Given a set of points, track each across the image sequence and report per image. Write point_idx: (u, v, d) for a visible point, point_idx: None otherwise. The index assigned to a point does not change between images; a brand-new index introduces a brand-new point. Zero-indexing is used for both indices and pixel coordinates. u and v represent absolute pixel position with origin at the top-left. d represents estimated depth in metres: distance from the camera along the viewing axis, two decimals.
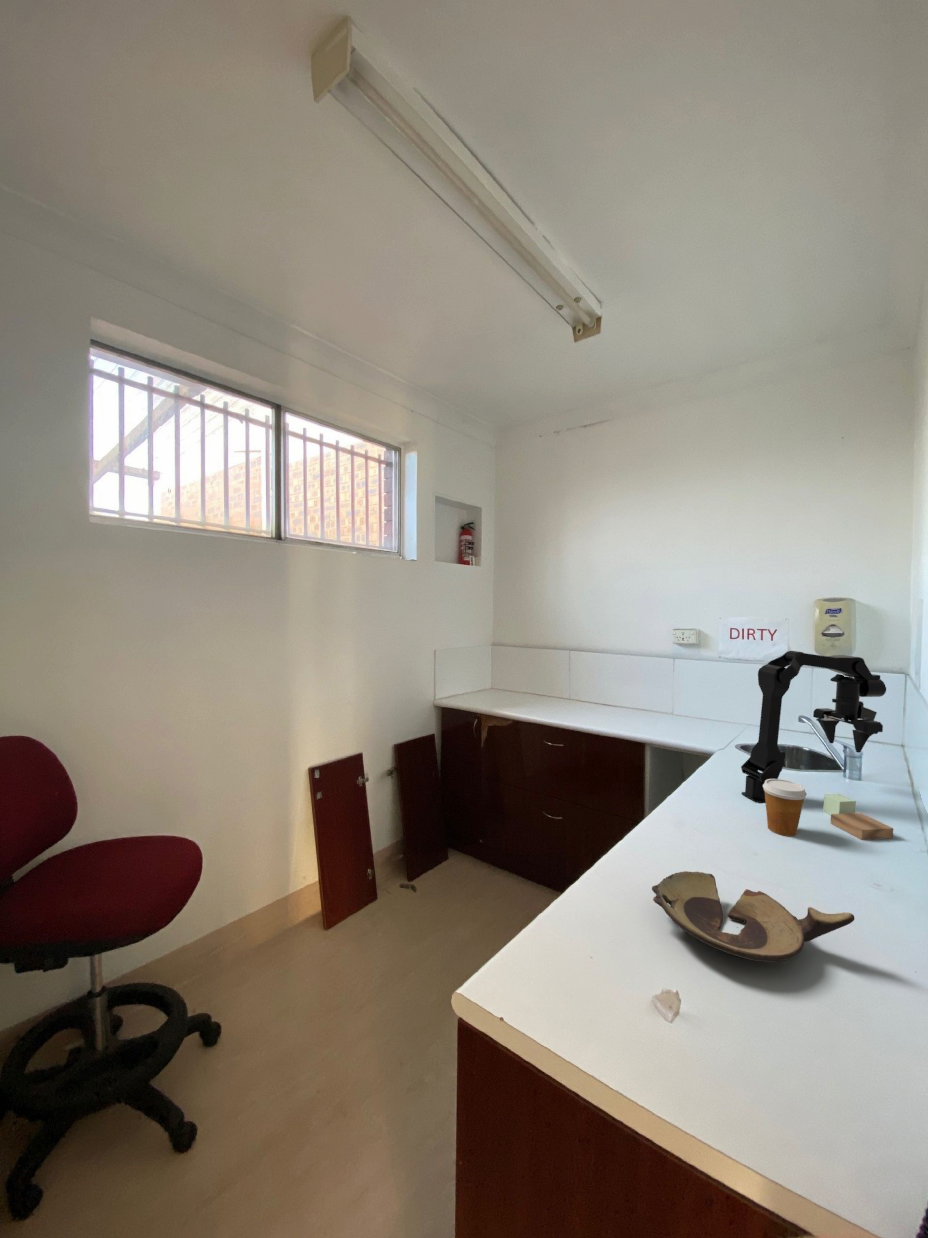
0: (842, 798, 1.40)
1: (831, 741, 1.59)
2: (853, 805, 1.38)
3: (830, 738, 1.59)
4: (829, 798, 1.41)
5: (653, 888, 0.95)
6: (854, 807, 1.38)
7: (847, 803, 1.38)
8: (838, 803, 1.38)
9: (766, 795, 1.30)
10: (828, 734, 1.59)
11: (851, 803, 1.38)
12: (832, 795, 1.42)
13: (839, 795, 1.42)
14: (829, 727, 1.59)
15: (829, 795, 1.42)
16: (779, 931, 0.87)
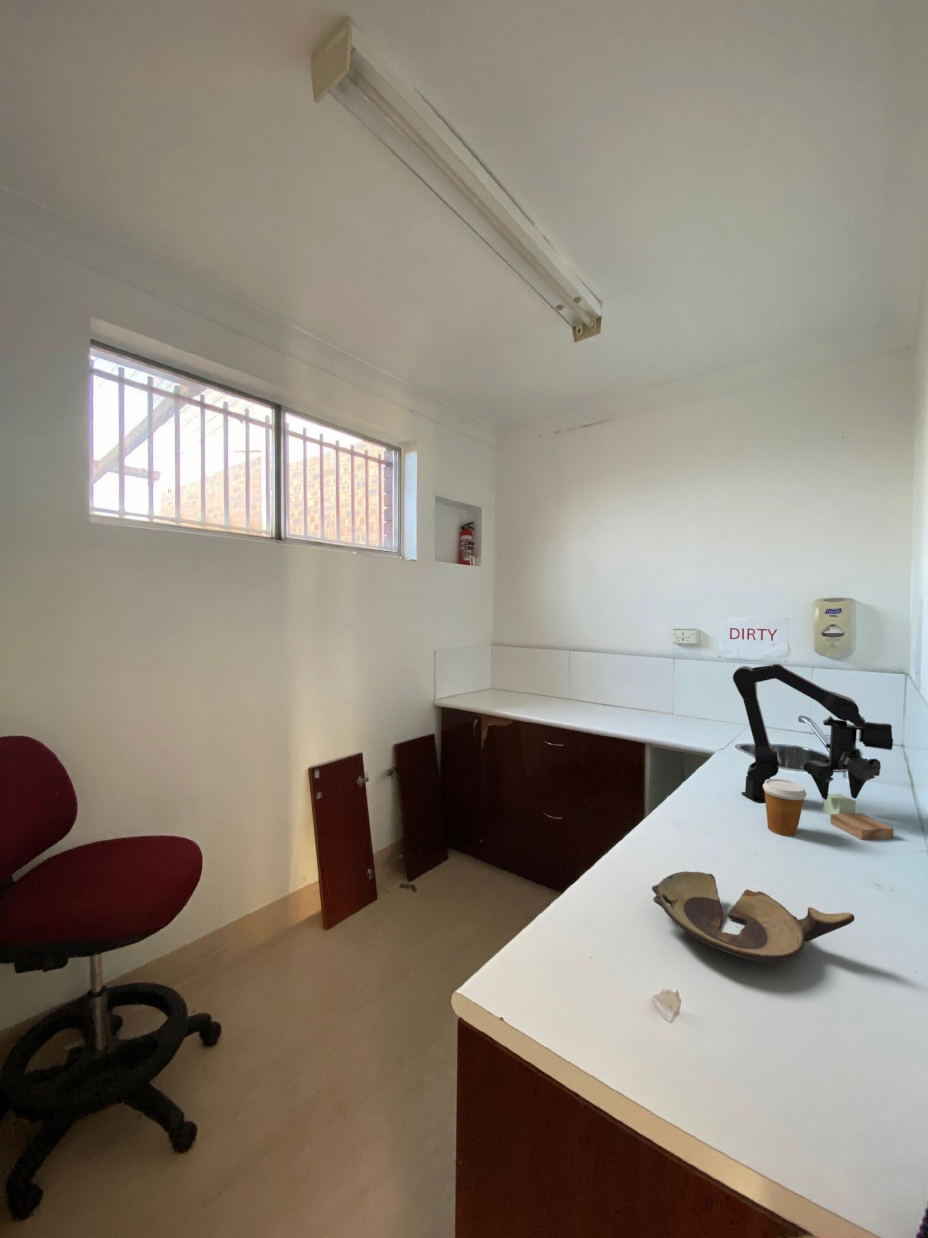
0: (842, 798, 1.40)
1: (852, 795, 1.41)
2: (853, 805, 1.38)
3: (851, 791, 1.42)
4: (829, 798, 1.41)
5: (653, 888, 0.95)
6: (854, 807, 1.38)
7: (847, 803, 1.38)
8: (838, 803, 1.38)
9: (766, 795, 1.30)
10: (850, 786, 1.42)
11: (851, 803, 1.38)
12: (832, 795, 1.42)
13: (839, 795, 1.42)
14: (853, 779, 1.42)
15: (829, 795, 1.42)
16: (779, 931, 0.87)
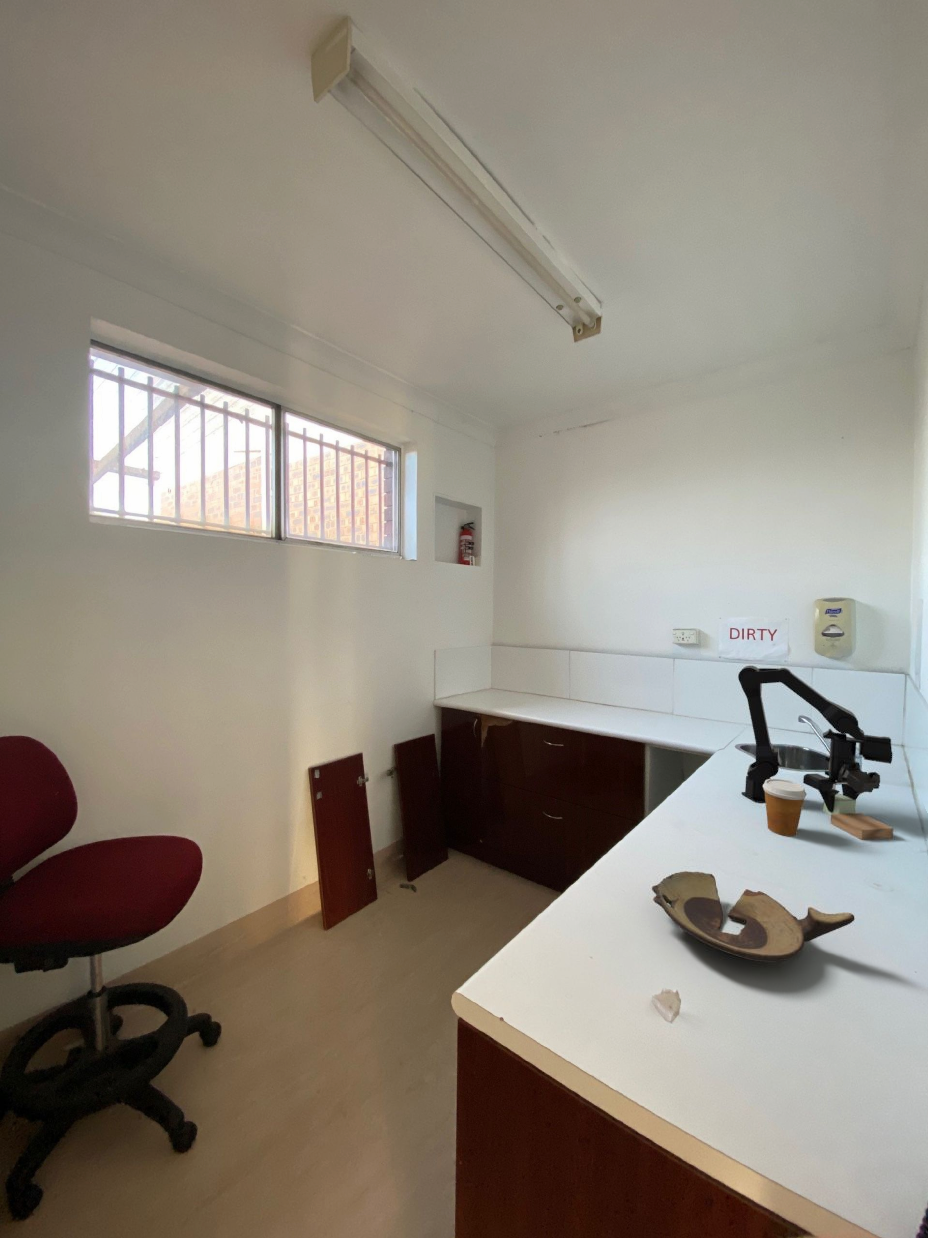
0: (842, 798, 1.40)
1: None
2: (853, 805, 1.38)
3: None
4: None
5: (653, 888, 0.95)
6: (854, 807, 1.38)
7: (847, 803, 1.38)
8: (838, 803, 1.38)
9: (766, 795, 1.30)
10: None
11: (851, 802, 1.38)
12: None
13: (839, 795, 1.42)
14: (846, 792, 1.41)
15: None
16: (779, 931, 0.87)
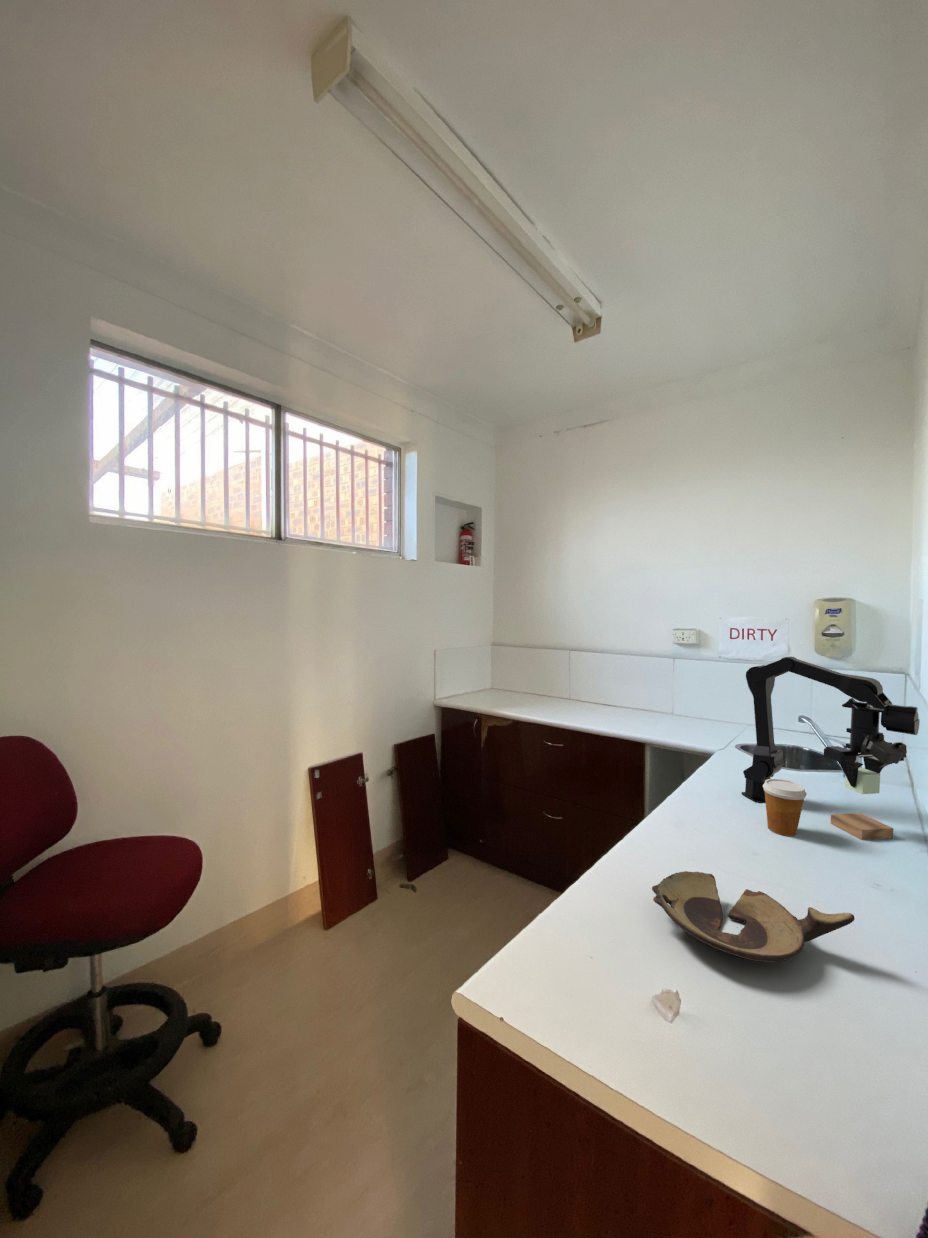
0: (865, 771, 1.31)
1: None
2: (877, 778, 1.29)
3: None
4: None
5: (653, 888, 0.95)
6: (878, 780, 1.30)
7: (871, 777, 1.29)
8: (862, 776, 1.29)
9: (766, 795, 1.30)
10: None
11: (875, 776, 1.29)
12: None
13: (861, 769, 1.33)
14: (869, 766, 1.33)
15: None
16: (779, 931, 0.87)
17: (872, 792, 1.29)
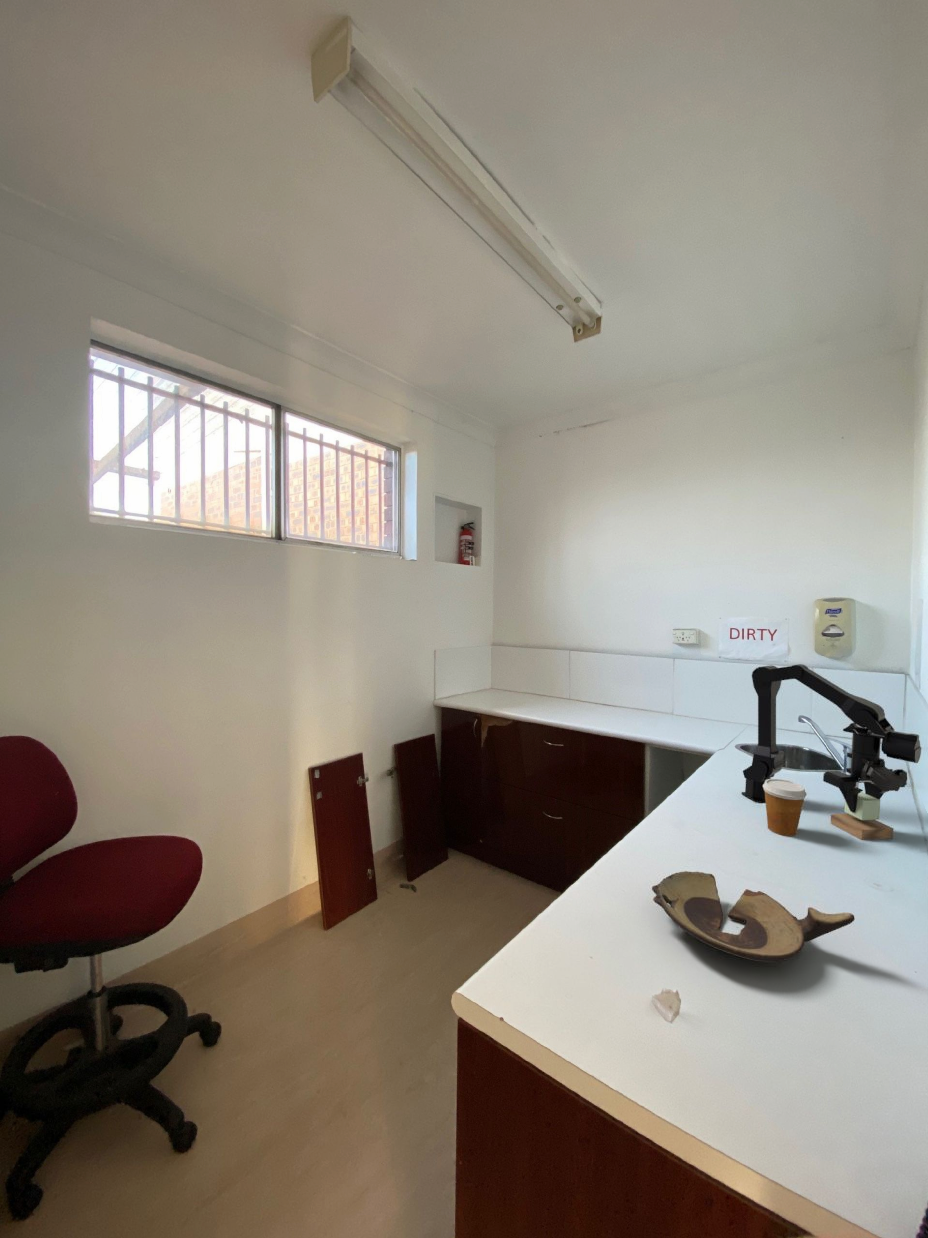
0: (865, 797, 1.31)
1: None
2: (877, 804, 1.29)
3: None
4: None
5: (653, 888, 0.95)
6: (878, 806, 1.29)
7: (871, 803, 1.28)
8: (861, 802, 1.28)
9: (766, 795, 1.30)
10: None
11: (875, 802, 1.29)
12: None
13: (862, 794, 1.32)
14: (870, 791, 1.32)
15: None
16: (779, 931, 0.87)
17: (872, 818, 1.29)
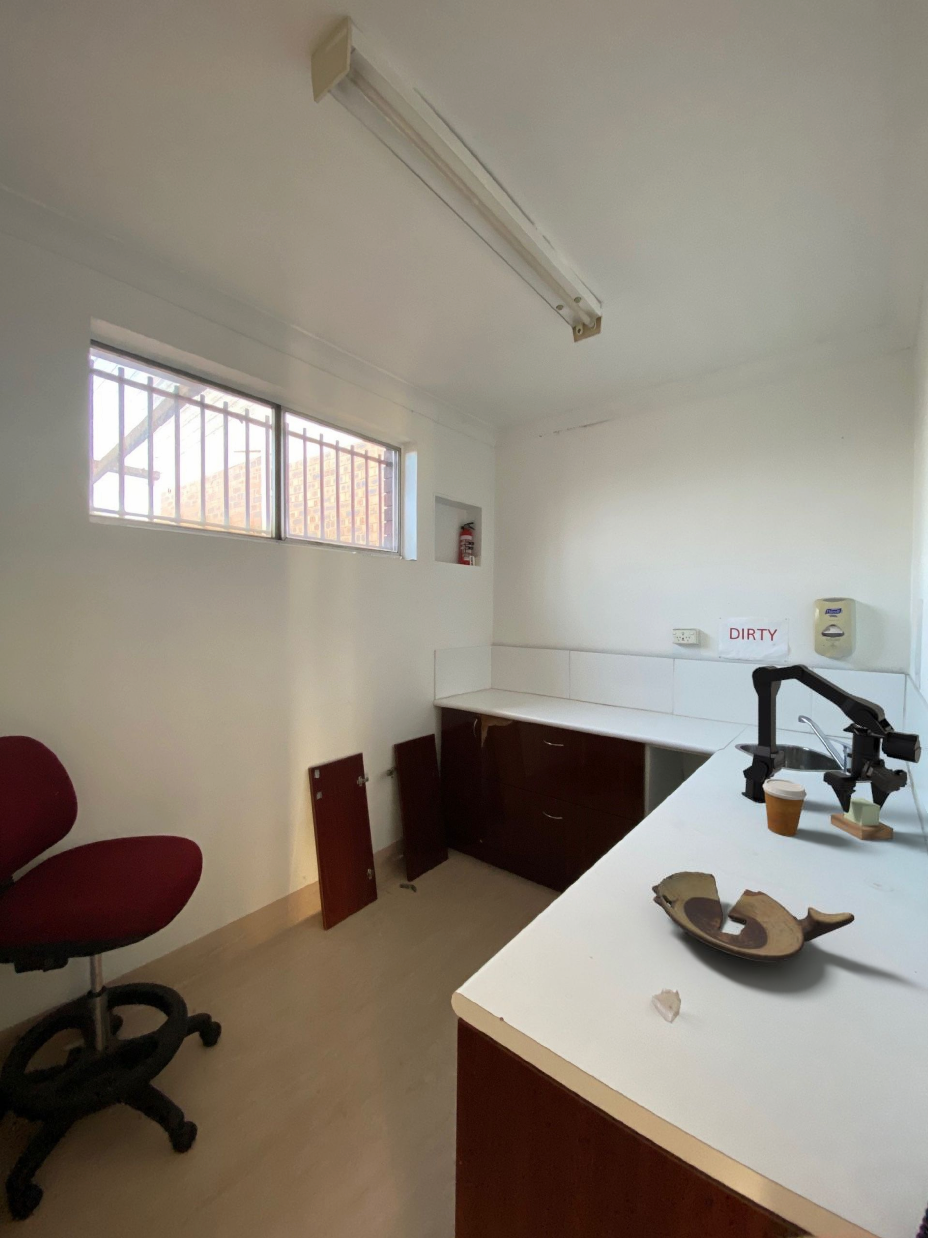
0: (865, 802, 1.31)
1: None
2: (877, 810, 1.29)
3: None
4: (851, 802, 1.31)
5: (653, 888, 0.95)
6: (878, 812, 1.29)
7: (870, 808, 1.28)
8: (861, 808, 1.28)
9: (766, 795, 1.30)
10: (873, 798, 1.33)
11: (875, 808, 1.29)
12: (854, 799, 1.33)
13: (861, 799, 1.33)
14: (876, 791, 1.32)
15: (851, 799, 1.32)
16: (779, 931, 0.87)
17: (871, 824, 1.29)
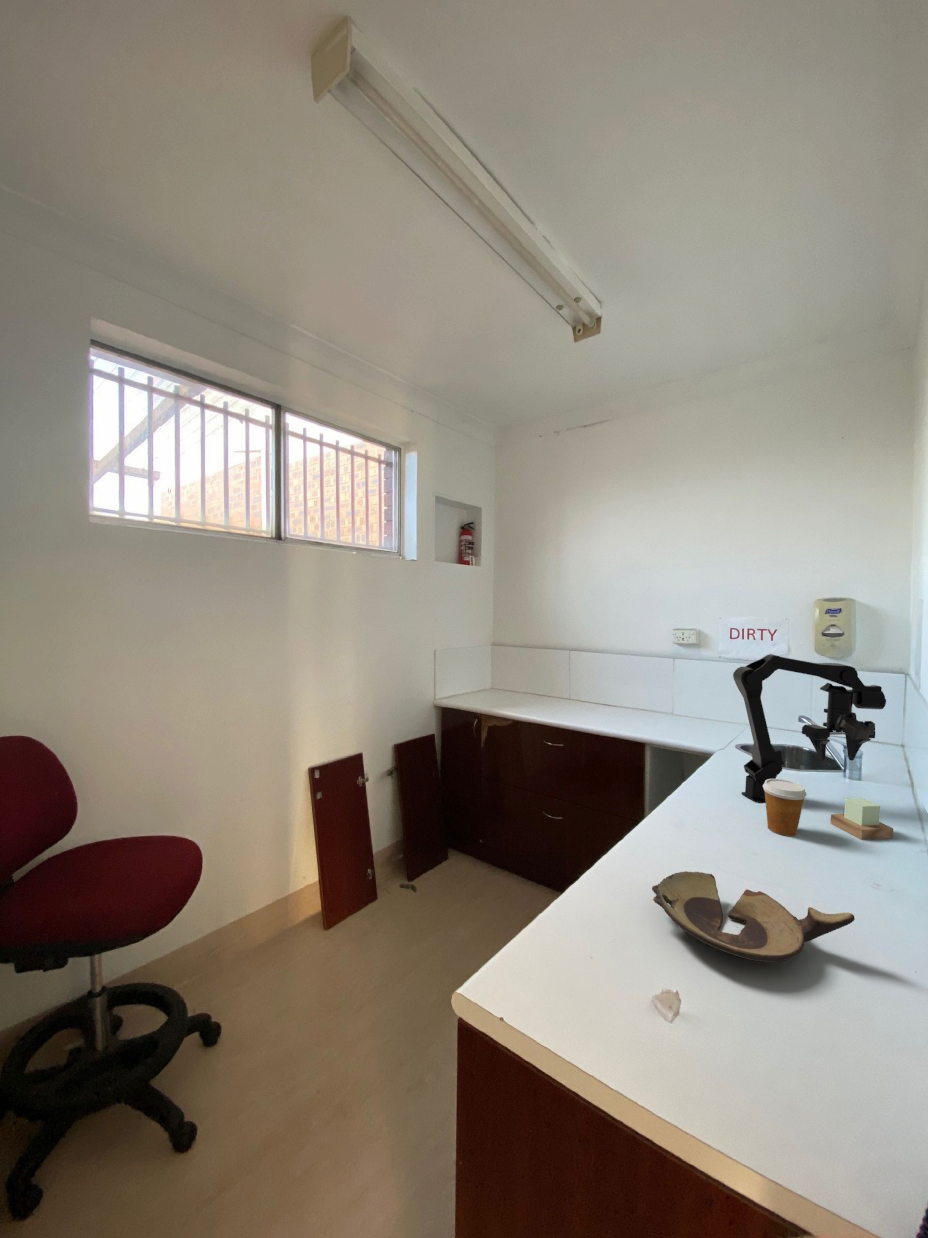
0: (865, 802, 1.31)
1: (849, 757, 1.48)
2: (877, 810, 1.29)
3: (848, 754, 1.48)
4: (851, 802, 1.31)
5: (653, 888, 0.95)
6: (878, 812, 1.29)
7: (870, 808, 1.28)
8: (861, 808, 1.28)
9: (766, 795, 1.30)
10: (847, 749, 1.49)
11: (875, 808, 1.29)
12: (854, 799, 1.33)
13: (861, 799, 1.33)
14: (850, 742, 1.48)
15: (851, 799, 1.32)
16: (779, 931, 0.87)
17: (871, 824, 1.29)
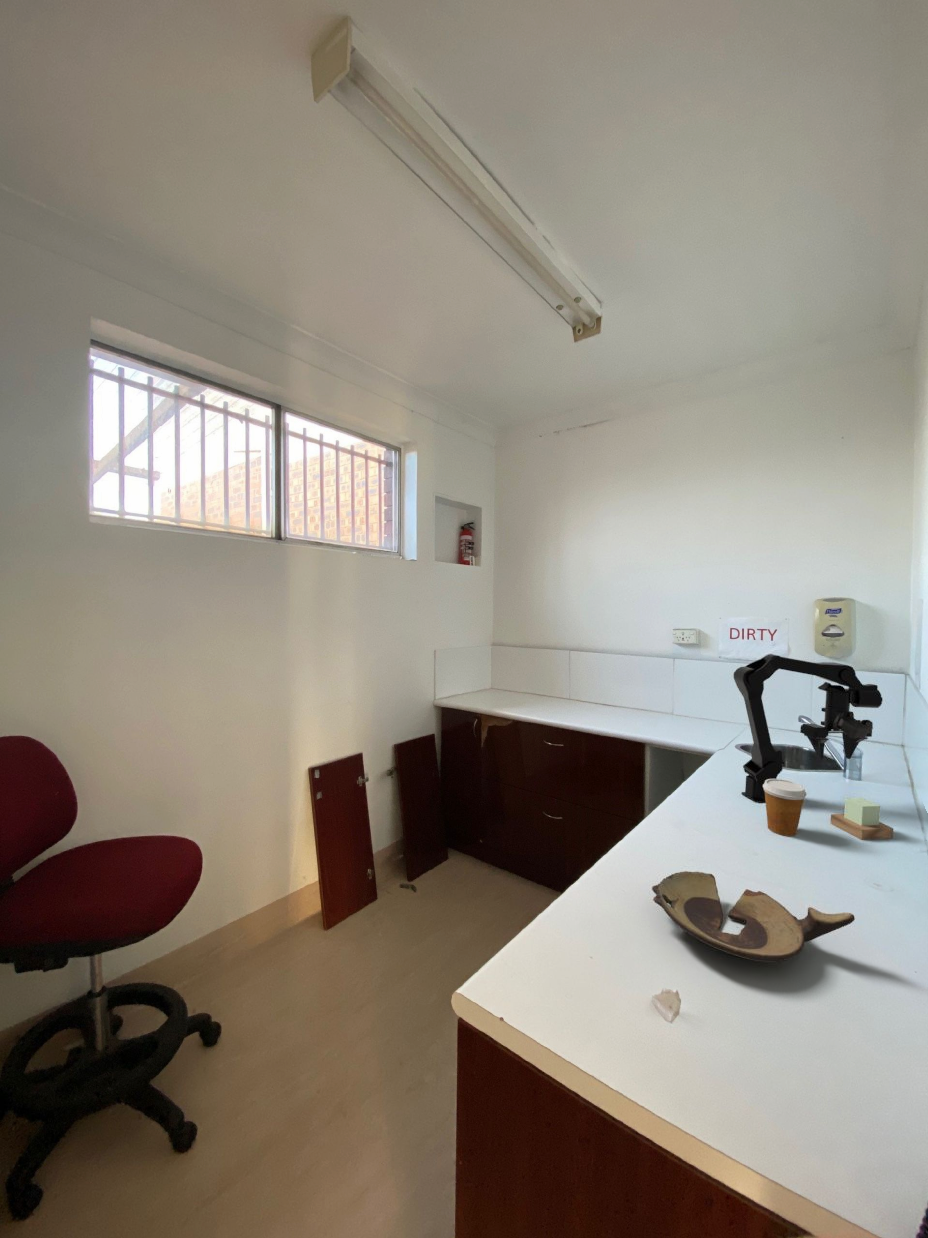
0: (865, 802, 1.31)
1: (846, 756, 1.49)
2: (877, 810, 1.29)
3: (845, 752, 1.50)
4: (851, 802, 1.31)
5: (653, 888, 0.95)
6: (878, 812, 1.29)
7: (870, 808, 1.28)
8: (861, 808, 1.28)
9: (766, 795, 1.30)
10: (844, 748, 1.50)
11: (875, 808, 1.29)
12: (854, 799, 1.33)
13: (861, 799, 1.33)
14: (847, 741, 1.50)
15: (851, 799, 1.32)
16: (779, 931, 0.87)
17: (871, 824, 1.29)
